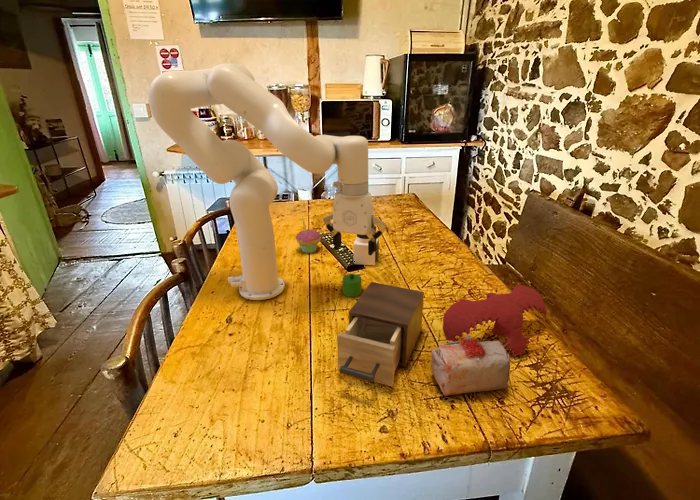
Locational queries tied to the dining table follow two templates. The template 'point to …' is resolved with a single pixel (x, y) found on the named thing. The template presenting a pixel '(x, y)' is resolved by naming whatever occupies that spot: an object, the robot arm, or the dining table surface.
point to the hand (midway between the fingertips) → (354, 250)
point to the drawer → (370, 350)
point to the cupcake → (308, 239)
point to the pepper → (352, 285)
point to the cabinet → (392, 311)
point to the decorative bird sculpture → (495, 316)
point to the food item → (470, 366)
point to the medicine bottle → (364, 251)
